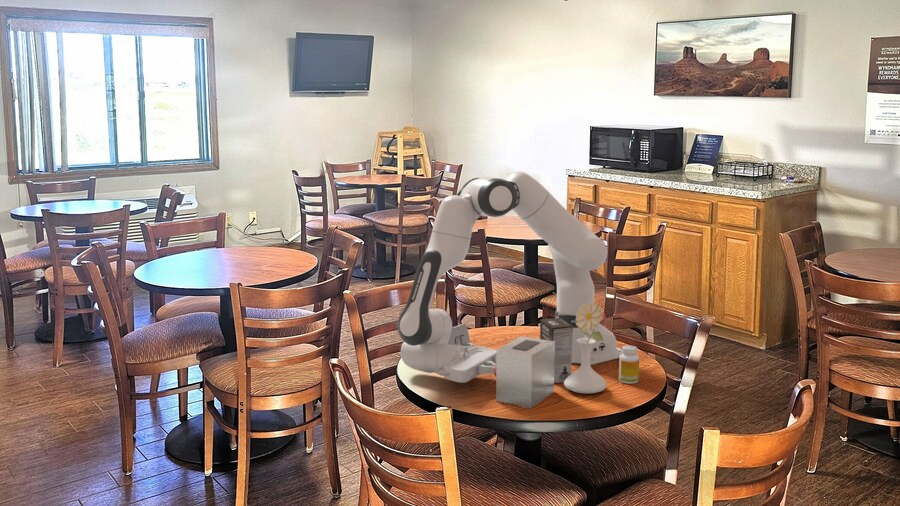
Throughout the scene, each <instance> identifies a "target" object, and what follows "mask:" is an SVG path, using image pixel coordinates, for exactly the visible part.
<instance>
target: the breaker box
mask: <svg viewBox="0 0 900 506" xmlns="http://www.w3.org/2000/svg"><path fill="white" fill-rule="evenodd" d="M496 350H497V352H496V377H495V379H496V380H495V387H496V389H495V392H496V393H495V397H496V398H495V402H497V401H500V402H499V403H502V402H504V403H503V404H507V403H509V404H508V405H511V404H514V405H513V406H516V405H520V406H519V407H521V406H523V407H522V408H527V409H532V408H534V407H535V406H537V405H538V404H539V403H541V402H542V401H543V399H544V400H545V399H547V396H548V397H549V396H551V395H552V394H553V393H554V391H555V383H554V362H555V341H548V340H542V339H540V338H536V337H535V338H534V337H528V336H523V335H520V336H519V337H516V338H515V339H513V340H511V341H509V342H508V343H506V344H504V345H502V346H500V347H498V348H497V349H496Z"/></svg>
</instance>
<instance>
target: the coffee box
mask: <svg viewBox="0 0 900 506" xmlns="http://www.w3.org/2000/svg"><path fill="white" fill-rule="evenodd" d="M539 327H540V328H539V329H540V330H539V331H540V332H539V339H542V340H548V341H555V362H554V384H557V383H564V381H565V379H566V378H567V377H568V376H569V375H571V374H572V363H571V362H572V331H573V326H572V325H570V324H569V323H567V322H566V321H564V320H563V319H562V318H555V317H554V318H553V317H552V318H543V319H540V325H539Z"/></svg>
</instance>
